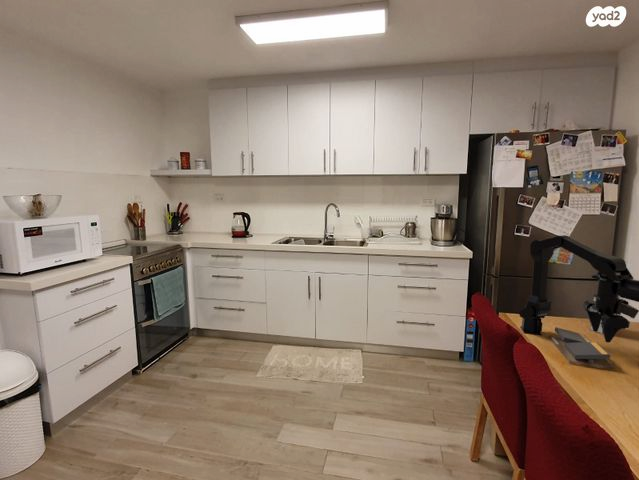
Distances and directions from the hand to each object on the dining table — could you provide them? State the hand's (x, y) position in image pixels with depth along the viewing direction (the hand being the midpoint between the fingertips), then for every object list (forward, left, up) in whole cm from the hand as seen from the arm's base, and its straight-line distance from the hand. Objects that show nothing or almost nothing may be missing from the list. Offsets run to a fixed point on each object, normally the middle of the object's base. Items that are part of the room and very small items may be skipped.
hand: (601, 336), depth 117 cm
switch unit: (-4, +5, -9) cm, 11 cm away
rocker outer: (-4, 0, -6) cm, 7 cm away
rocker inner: (-4, +11, -6) cm, 13 cm away
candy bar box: (+14, +33, -9) cm, 37 cm away
